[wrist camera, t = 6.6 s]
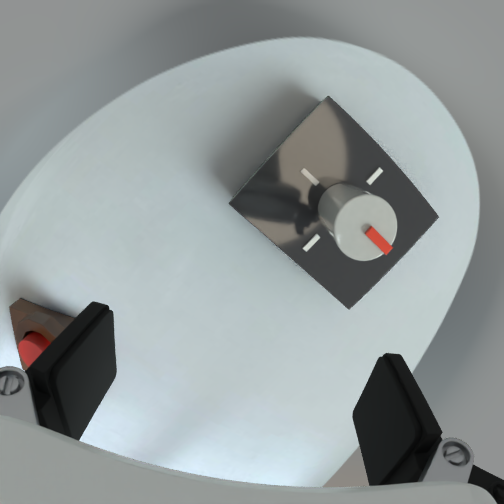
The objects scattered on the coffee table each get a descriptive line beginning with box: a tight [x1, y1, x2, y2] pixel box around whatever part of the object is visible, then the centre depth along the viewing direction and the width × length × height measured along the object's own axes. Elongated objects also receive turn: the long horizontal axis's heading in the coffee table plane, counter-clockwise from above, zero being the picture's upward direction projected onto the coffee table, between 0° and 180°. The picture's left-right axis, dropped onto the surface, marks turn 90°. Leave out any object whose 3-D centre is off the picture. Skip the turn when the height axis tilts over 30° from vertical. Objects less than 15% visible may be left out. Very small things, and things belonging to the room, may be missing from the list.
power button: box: [19, 332, 51, 367], centre depth 25 cm, size 4×4×2 cm
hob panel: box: [229, 96, 439, 309], centre depth 23 cm, size 12×10×3 cm
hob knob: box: [318, 183, 397, 261], centre depth 19 cm, size 4×4×6 cm
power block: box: [9, 299, 75, 371], centre depth 28 cm, size 11×10×4 cm
